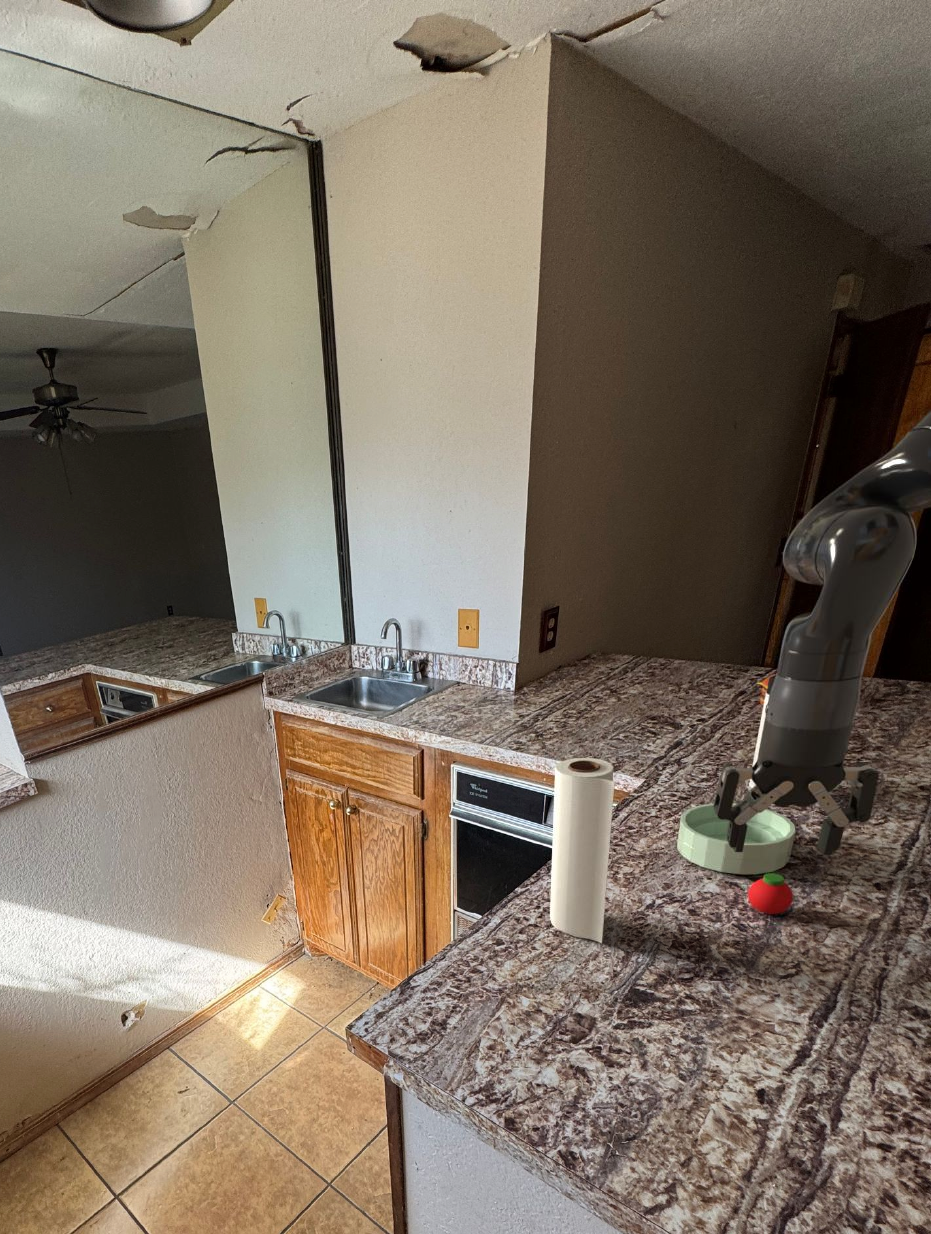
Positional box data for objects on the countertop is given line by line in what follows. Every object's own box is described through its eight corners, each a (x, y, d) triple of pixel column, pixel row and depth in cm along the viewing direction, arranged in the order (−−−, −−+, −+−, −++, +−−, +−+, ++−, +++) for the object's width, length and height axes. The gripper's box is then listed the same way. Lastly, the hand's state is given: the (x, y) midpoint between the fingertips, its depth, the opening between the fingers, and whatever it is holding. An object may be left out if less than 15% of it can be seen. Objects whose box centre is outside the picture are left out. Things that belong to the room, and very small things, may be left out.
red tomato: (794, 909, 79) (802, 875, 76) (782, 925, 76) (789, 890, 74) (752, 897, 82) (759, 864, 80) (739, 913, 79) (746, 879, 77)
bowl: (801, 848, 90) (808, 816, 88) (768, 888, 83) (775, 854, 81) (698, 825, 100) (702, 796, 97) (660, 860, 92) (664, 829, 90)
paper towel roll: (551, 907, 86) (556, 755, 76) (601, 911, 83) (613, 755, 74) (548, 939, 80) (553, 779, 70) (601, 944, 77) (615, 779, 68)
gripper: (738, 728, 67) (715, 864, 74) (910, 724, 63) (868, 869, 70) (722, 708, 74) (702, 834, 81) (877, 703, 69) (841, 838, 76)
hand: (779, 850), depth 75 cm, fingers open, 8 cm apart
